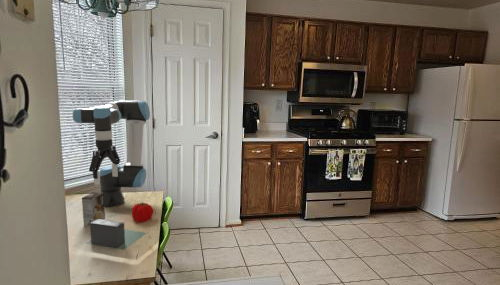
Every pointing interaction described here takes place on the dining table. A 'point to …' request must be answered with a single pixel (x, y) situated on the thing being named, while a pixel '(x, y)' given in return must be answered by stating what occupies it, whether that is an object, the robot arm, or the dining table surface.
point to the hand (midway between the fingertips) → (106, 180)
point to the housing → (107, 233)
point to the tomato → (142, 212)
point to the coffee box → (93, 207)
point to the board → (128, 238)
